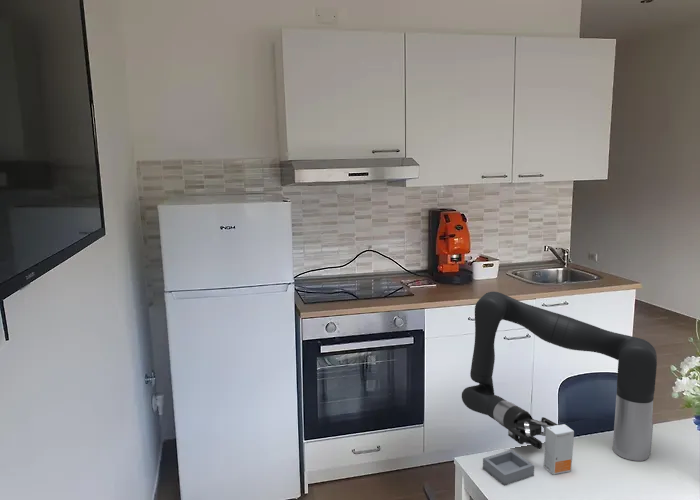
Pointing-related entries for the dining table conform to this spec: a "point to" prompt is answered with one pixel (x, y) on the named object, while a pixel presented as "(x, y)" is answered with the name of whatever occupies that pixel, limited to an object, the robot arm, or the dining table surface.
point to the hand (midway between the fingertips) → (552, 442)
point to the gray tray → (508, 467)
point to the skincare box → (558, 449)
